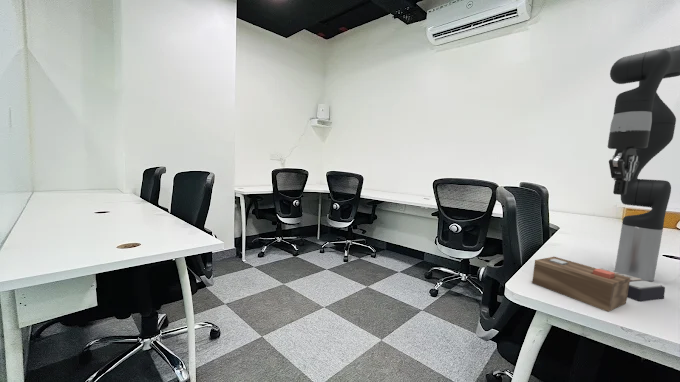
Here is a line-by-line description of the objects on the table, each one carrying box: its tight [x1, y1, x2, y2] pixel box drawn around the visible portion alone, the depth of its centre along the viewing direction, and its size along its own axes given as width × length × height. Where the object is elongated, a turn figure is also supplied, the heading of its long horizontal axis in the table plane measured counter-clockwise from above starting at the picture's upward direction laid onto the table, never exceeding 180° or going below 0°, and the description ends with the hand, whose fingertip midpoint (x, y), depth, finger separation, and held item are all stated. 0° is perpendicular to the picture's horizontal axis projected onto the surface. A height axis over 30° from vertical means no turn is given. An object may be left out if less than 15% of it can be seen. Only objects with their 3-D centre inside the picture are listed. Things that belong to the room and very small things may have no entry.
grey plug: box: [549, 259, 568, 265], centre depth 79 cm, size 3×3×7 cm
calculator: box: [597, 267, 666, 302], centre depth 80 cm, size 11×4×15 cm
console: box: [531, 256, 630, 312], centre depth 75 cm, size 11×17×7 cm, turn 27°
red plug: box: [593, 268, 615, 279], centre depth 70 cm, size 3×3×7 cm
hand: (619, 194), depth 74 cm, fingers closed
